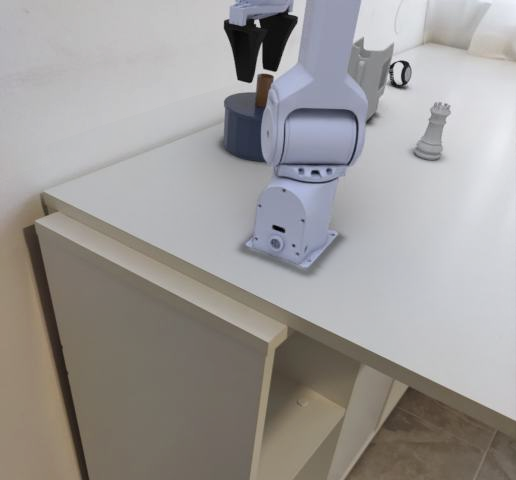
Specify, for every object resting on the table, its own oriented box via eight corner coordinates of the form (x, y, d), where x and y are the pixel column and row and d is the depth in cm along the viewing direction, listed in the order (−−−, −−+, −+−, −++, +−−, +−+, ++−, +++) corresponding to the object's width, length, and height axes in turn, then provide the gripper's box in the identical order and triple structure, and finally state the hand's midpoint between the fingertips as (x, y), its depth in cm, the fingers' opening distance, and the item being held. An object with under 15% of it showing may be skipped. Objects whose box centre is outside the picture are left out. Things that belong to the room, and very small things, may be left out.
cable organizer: (381, 109, 103) (397, 40, 95) (364, 128, 95) (381, 53, 87) (348, 102, 105) (361, 33, 97) (329, 120, 96) (342, 46, 88)
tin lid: (286, 132, 75) (291, 94, 72) (210, 115, 77) (212, 77, 74) (309, 109, 83) (315, 74, 80) (241, 94, 86) (243, 59, 82)
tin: (272, 167, 79) (277, 127, 75) (210, 148, 82) (212, 108, 78) (303, 146, 86) (309, 108, 82) (245, 128, 89) (248, 91, 85)
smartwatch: (397, 90, 114) (403, 64, 111) (382, 82, 118) (388, 57, 114) (412, 89, 116) (418, 64, 113) (397, 81, 119) (403, 57, 116)
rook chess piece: (441, 162, 86) (458, 111, 81) (413, 158, 86) (428, 106, 81) (439, 152, 89) (455, 102, 84) (413, 148, 90) (427, 98, 84)
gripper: (266, -48, 74) (257, 60, 83) (210, -42, 64) (206, 79, 73) (312, -40, 72) (298, 70, 81) (261, -33, 62) (251, 91, 71)
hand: (257, 75), depth 77 cm, fingers open, 7 cm apart
